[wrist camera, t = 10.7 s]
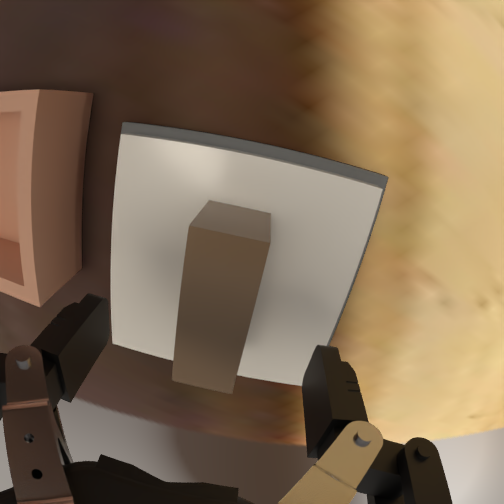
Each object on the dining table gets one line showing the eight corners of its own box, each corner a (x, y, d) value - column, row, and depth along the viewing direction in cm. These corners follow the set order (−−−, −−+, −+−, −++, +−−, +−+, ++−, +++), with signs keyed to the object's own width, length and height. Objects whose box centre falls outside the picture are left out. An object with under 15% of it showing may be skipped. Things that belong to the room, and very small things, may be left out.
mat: (127, 121, 15) (122, 122, 15) (384, 175, 16) (388, 177, 15) (115, 332, 21) (112, 337, 20) (311, 375, 21) (312, 381, 21)
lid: (129, 132, 15) (77, 139, 10) (376, 185, 15) (416, 211, 11) (118, 334, 20) (87, 383, 15) (307, 376, 20) (312, 434, 16)
